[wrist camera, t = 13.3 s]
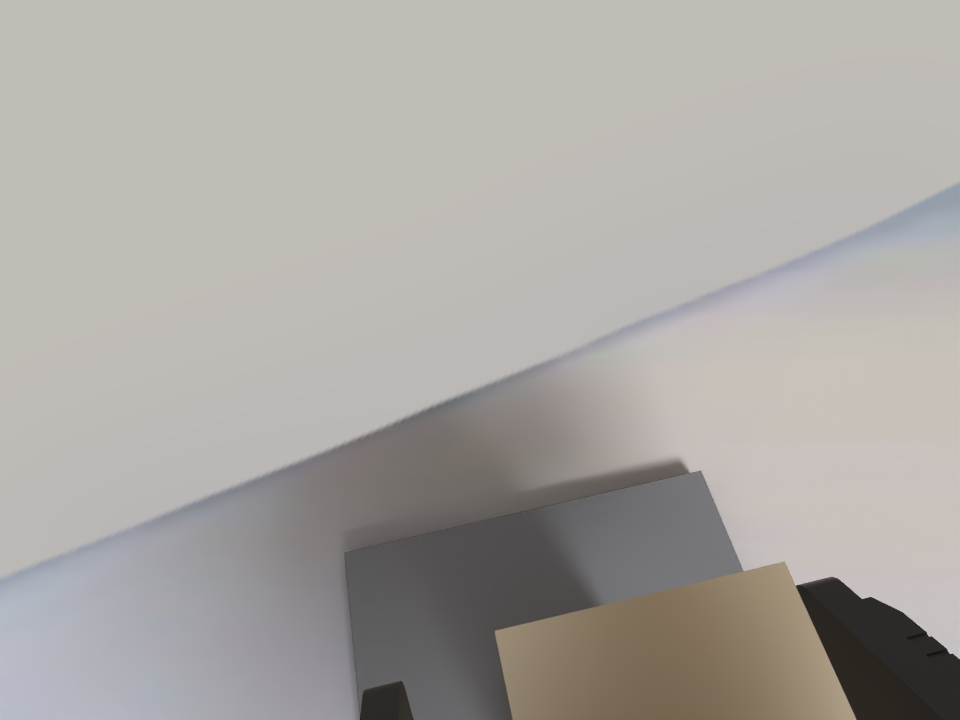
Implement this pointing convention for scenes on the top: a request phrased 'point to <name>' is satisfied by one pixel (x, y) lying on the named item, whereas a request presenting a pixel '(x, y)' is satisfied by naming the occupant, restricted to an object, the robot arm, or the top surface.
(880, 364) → the top surface
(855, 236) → the top surface
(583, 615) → the beech peg
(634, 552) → the charcoal mat
